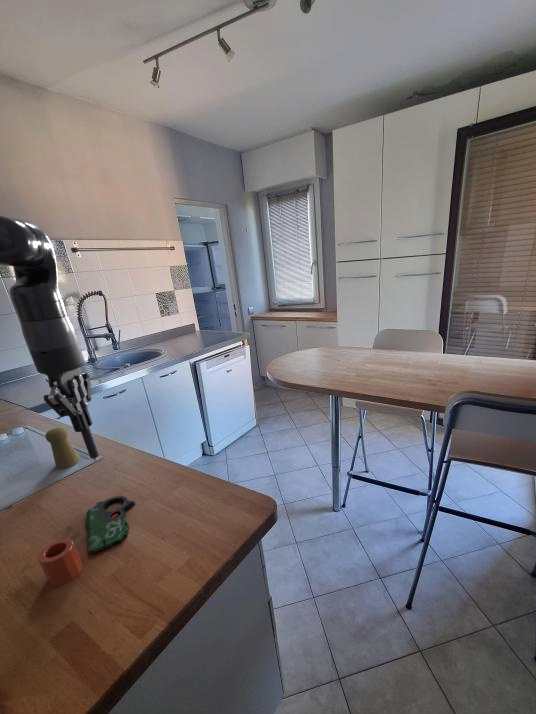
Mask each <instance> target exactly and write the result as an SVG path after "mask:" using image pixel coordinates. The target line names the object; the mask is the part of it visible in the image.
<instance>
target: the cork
mask: <svg viewBox="0 0 536 714" xmlns="http://www.w3.org/2000/svg"><path fill="white" fill-rule="evenodd" d="M44 437H45V439H46V441H47V442H48V443H49V444H50V448H51V452H52V456H53V459H54V464H55V467H56V469H60V470H63V469H67V468H66V467H68V468H70V467H69V466H71V467H73V466H75V465H76V464H78V463H79V462H80V461H81V458H80V456H79V455H78V452H77V451H76V450H75V448H74V446H73V444H72V443H71V441H70V439H69V438H68V437H69V431H68V430H67V429H66V428H65V427H62V426H59V427H58V426H57V427H55V428H51V429H49V430H48V431H47V432H46V433H45V436H44ZM79 460H80V461H79ZM78 461H79V462H78ZM77 462H78V463H77ZM75 463H76V464H75ZM74 464H75V465H74ZM72 465H73V466H72ZM62 468H63V469H62Z"/></svg>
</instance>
